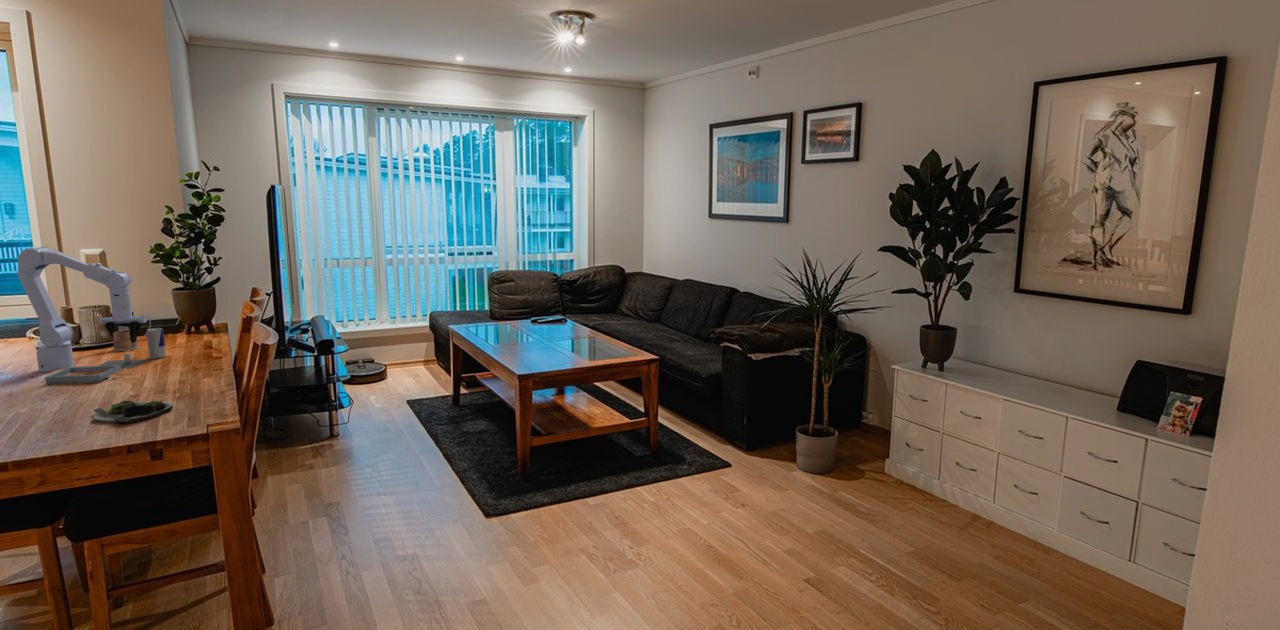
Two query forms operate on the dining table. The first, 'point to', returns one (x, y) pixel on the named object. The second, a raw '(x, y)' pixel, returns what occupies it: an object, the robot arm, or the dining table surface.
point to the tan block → (123, 340)
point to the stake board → (124, 366)
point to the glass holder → (125, 327)
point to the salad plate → (132, 411)
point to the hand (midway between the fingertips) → (125, 342)
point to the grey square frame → (61, 379)
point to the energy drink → (156, 343)
